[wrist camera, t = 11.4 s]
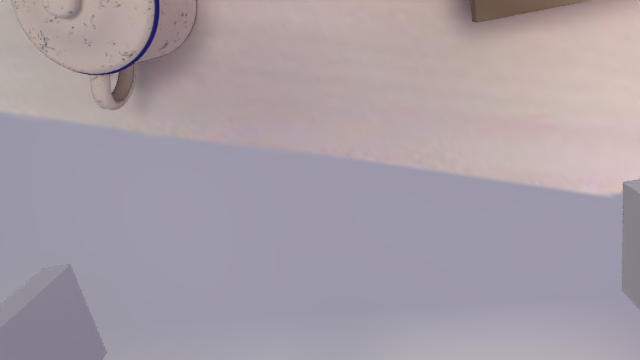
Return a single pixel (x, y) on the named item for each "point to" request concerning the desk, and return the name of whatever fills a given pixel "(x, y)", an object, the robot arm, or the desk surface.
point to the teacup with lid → (106, 37)
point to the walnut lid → (511, 7)
